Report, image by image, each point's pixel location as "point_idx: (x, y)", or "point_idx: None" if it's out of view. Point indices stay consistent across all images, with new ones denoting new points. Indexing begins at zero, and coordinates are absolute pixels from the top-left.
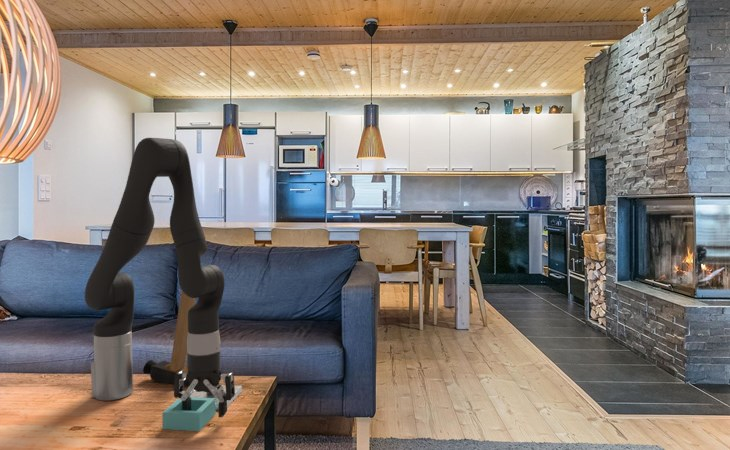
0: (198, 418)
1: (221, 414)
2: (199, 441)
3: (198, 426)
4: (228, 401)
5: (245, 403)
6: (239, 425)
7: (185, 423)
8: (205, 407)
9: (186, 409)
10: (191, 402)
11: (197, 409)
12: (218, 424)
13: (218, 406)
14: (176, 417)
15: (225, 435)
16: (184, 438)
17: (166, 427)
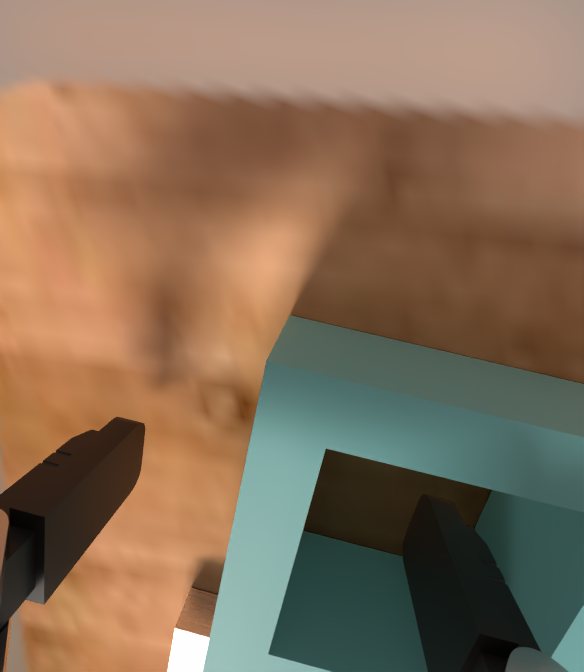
0: (285, 349)
1: (105, 430)
2: (249, 133)
3: (295, 327)
4: (171, 661)
5: (93, 637)
6: (30, 366)
7: (416, 361)
8: (241, 516)
9: (449, 537)
10: (422, 664)
11: (359, 587)
12: (178, 401)
13: (79, 485)
14: (533, 405)
15: (75, 221)
16: (387, 201)
17: (574, 385)
